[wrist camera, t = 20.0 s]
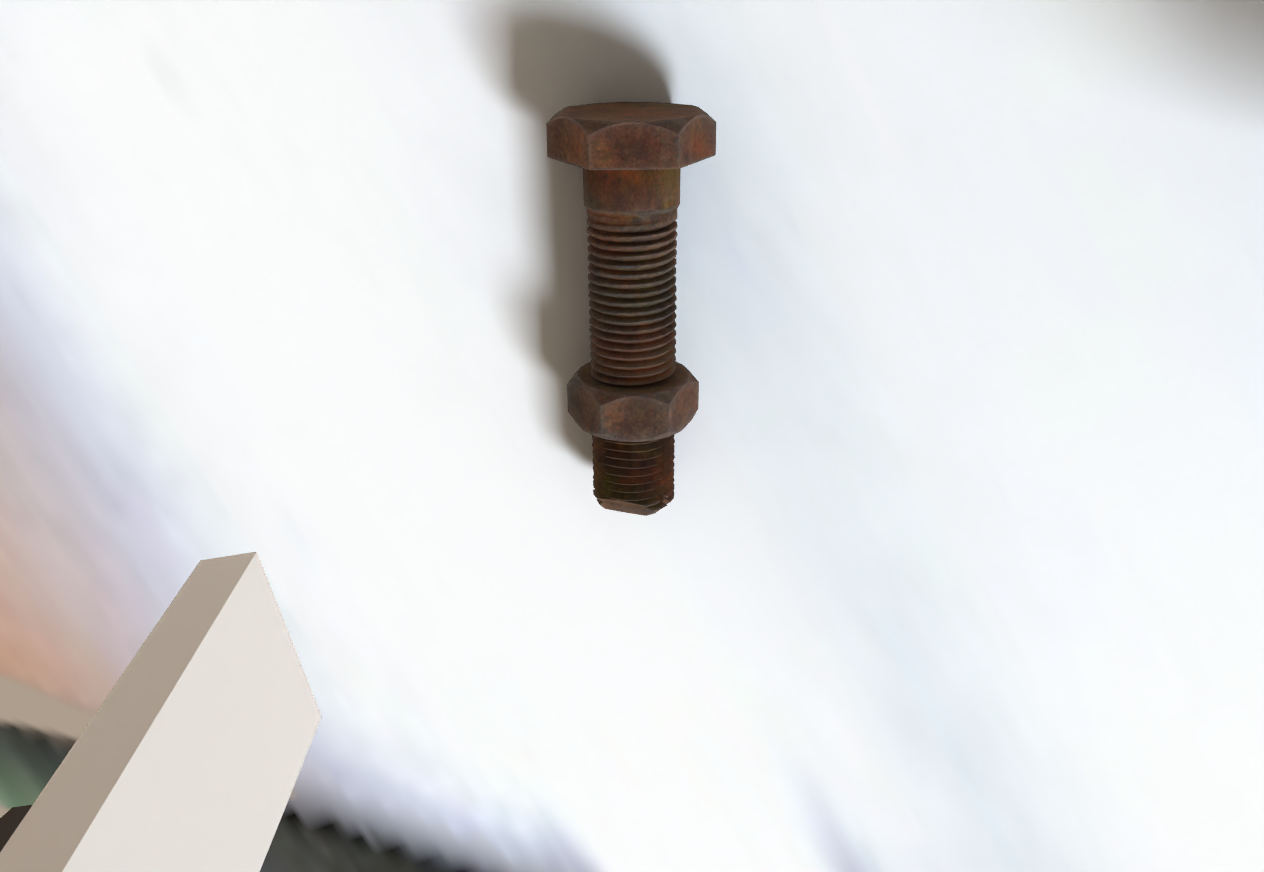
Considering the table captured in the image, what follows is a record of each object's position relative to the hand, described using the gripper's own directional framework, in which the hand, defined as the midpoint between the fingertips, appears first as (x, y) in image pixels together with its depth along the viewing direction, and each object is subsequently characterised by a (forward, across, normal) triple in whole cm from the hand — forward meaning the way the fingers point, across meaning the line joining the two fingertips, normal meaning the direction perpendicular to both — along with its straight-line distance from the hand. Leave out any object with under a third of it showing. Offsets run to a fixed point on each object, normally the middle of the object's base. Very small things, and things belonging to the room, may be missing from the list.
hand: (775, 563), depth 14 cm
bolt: (+29, -4, -6) cm, 29 cm away
